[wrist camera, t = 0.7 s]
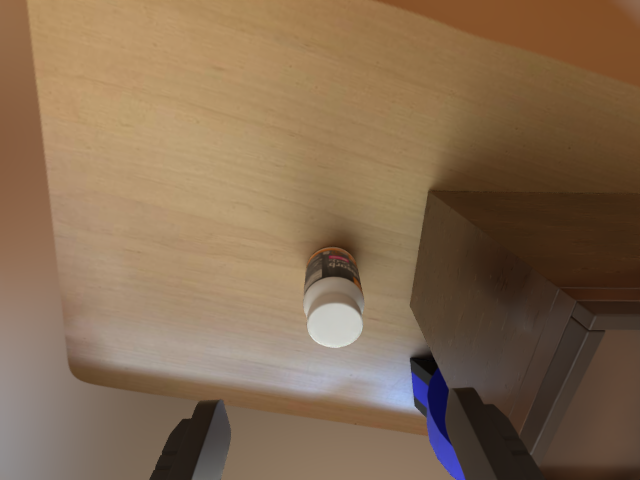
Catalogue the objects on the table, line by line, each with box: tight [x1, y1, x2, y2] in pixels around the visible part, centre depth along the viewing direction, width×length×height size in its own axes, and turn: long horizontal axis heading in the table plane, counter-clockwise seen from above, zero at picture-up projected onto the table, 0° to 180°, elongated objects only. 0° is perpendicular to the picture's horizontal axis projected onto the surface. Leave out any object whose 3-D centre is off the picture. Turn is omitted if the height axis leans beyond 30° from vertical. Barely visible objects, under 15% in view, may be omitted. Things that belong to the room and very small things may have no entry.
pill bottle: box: [303, 247, 364, 347], centre depth 29 cm, size 6×6×10 cm
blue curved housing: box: [410, 358, 466, 480], centre depth 34 cm, size 12×12×15 cm
